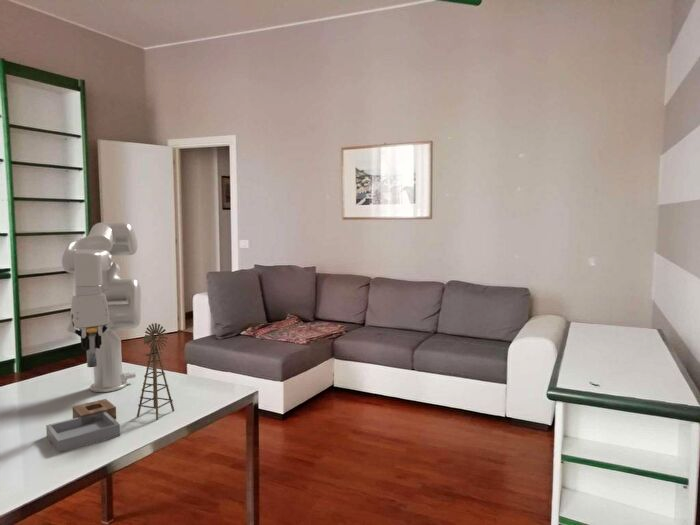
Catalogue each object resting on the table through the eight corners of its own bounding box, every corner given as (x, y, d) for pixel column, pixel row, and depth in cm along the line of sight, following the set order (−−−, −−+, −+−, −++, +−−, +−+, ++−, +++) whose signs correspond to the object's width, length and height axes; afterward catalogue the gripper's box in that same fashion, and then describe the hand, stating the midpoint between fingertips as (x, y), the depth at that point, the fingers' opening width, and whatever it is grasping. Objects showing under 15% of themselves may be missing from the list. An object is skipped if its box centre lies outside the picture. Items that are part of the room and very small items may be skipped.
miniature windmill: (175, 410, 161) (173, 322, 158) (158, 420, 153) (155, 327, 150) (153, 407, 164) (151, 320, 161) (135, 416, 156) (132, 325, 153)
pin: (97, 363, 155) (95, 325, 154) (101, 366, 152) (100, 327, 151) (83, 365, 152) (81, 326, 151) (86, 368, 149) (85, 329, 148)
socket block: (106, 410, 161) (105, 398, 161) (116, 419, 154) (115, 407, 153) (72, 418, 154) (72, 406, 154) (81, 428, 147) (81, 415, 147)
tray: (105, 421, 152) (104, 410, 152) (120, 435, 142) (119, 424, 142) (46, 436, 141) (46, 425, 141) (58, 452, 131) (57, 441, 131)
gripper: (112, 287, 159) (114, 342, 160) (56, 292, 147) (59, 351, 149) (120, 289, 153) (122, 346, 155) (62, 294, 142) (65, 355, 144)
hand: (91, 348), depth 152 cm, fingers closed on pin, 2 cm apart
